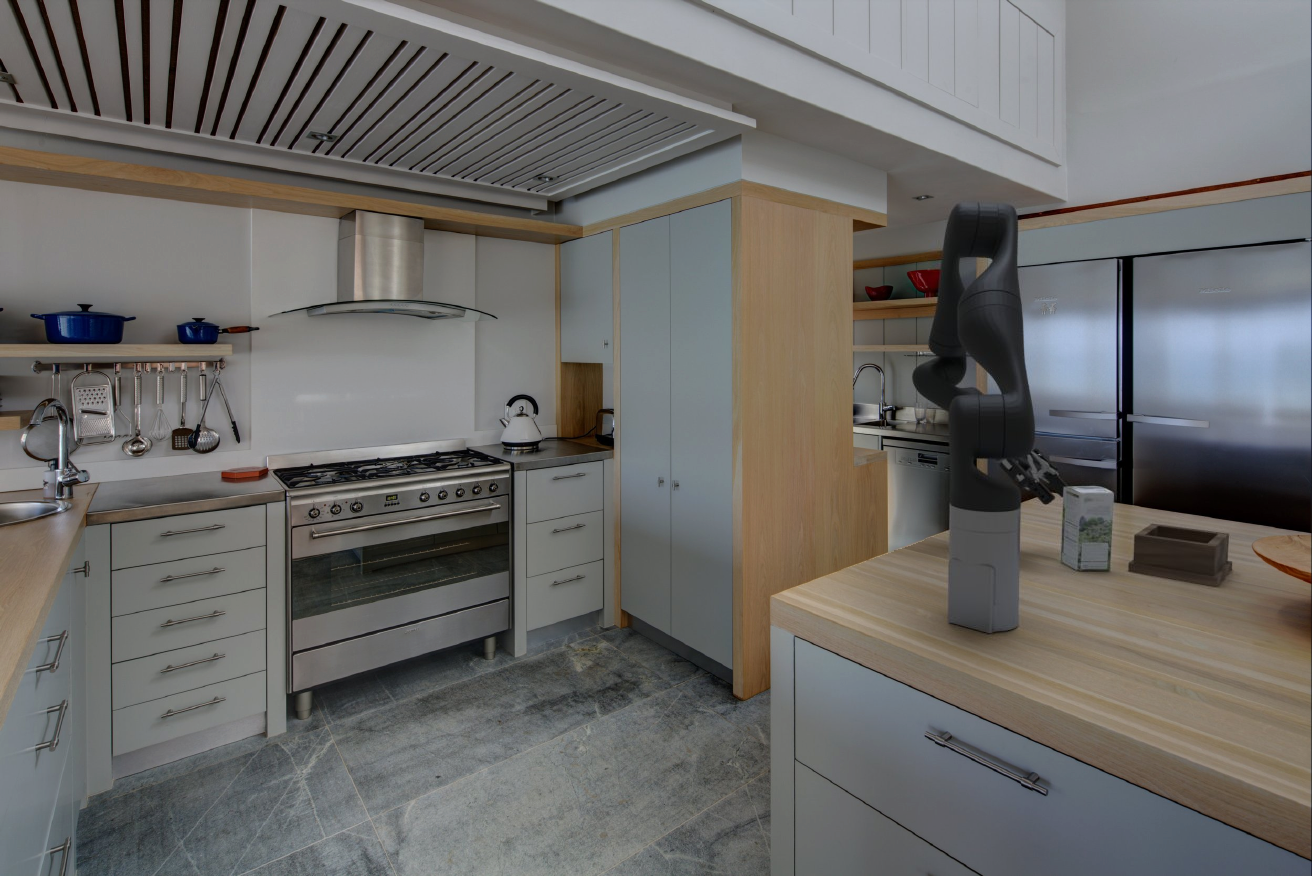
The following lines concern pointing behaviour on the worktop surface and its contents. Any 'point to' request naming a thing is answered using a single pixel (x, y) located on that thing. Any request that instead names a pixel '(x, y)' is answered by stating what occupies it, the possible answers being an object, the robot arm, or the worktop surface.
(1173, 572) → the holder
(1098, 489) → the syrup box
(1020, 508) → the robot arm
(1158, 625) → the worktop surface
